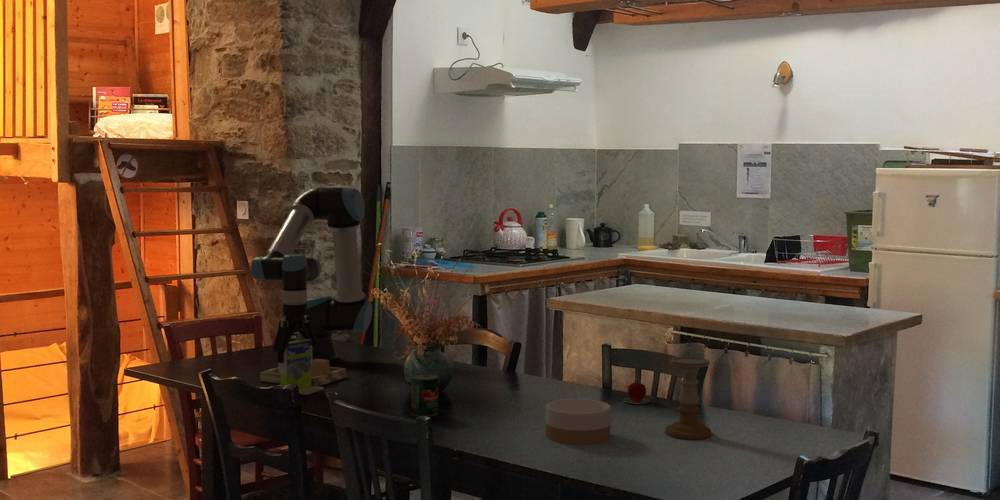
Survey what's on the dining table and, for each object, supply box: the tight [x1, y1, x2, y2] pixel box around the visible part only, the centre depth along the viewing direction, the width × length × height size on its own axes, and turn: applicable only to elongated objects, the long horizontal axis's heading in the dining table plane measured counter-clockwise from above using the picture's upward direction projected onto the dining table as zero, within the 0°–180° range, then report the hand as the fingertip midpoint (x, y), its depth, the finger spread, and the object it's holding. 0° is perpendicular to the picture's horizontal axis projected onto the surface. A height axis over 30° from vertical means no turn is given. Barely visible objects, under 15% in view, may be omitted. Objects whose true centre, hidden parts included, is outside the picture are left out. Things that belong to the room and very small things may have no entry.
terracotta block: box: [311, 359, 330, 377], centre depth 343 cm, size 4×5×7 cm
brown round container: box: [545, 398, 612, 446], centre depth 274 cm, size 17×17×8 cm
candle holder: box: [664, 356, 712, 440], centre depth 276 cm, size 12×12×20 cm
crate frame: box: [259, 366, 347, 387], centre depth 346 cm, size 18×22×3 cm
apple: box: [623, 382, 650, 405], centre depth 314 cm, size 8×8×6 cm
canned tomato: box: [410, 373, 439, 417], centre depth 298 cm, size 8×8×11 cm
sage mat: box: [277, 384, 324, 396], centre depth 330 cm, size 9×15×1 cm, turn 65°
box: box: [280, 332, 311, 388], centre depth 329 cm, size 10×4×17 cm, turn 142°
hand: (295, 369), depth 329 cm, fingers open, 13 cm apart
